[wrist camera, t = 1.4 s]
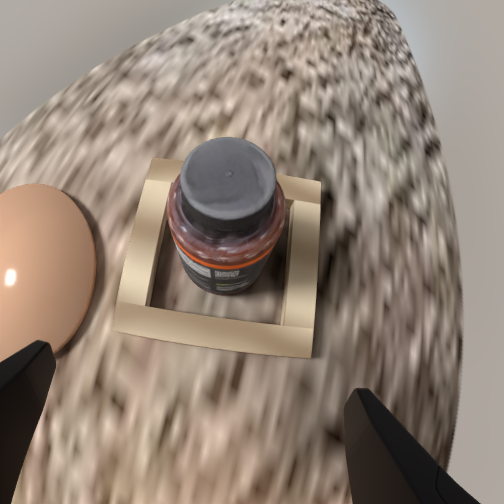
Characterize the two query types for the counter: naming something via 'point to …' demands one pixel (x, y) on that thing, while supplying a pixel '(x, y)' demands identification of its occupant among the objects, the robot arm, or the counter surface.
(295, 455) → the counter surface
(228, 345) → the birch collar
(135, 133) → the counter surface
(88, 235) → the terracotta pad
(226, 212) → the supplement bottle
